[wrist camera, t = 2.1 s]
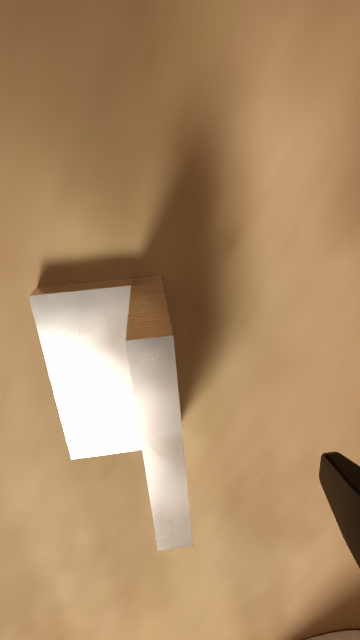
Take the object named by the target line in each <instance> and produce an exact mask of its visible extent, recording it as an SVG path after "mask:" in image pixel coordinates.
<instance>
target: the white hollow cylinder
mask: <svg viewBox="0 0 360 640" xmlns="http://www.w3.org/2000/svg"><path fill="white" fill-rule="evenodd" d="M305 640H360V630H346V631H339V632H332V633H327V634H323V635H319V636H315V637H311V638H308V639H305Z"/></svg>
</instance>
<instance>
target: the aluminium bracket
mask: <svg viewBox="0 0 360 640" xmlns="http://www.w3.org/2000/svg"><path fill="white" fill-rule="evenodd" d="M29 300H30V304H31V307H32V311H33V315H34V319H35V323H36V326H37V330H38V334H39V338H40V341H41V345H42V349H43V353H44V357H45V360H46V364H47V368H48V372H49V376H50V379H51V383H52V387H53V391H54V395H55V398H56V402H57V406H58V410H59V413H60V417H61V421H62V425H63V429H64V432H65V436H66V440H67V444H68V448H69V451H70V455H71V459H78V458H85V457H93V456H100V455H107V454H115V453H122V452H129V451H137V450H142V451H143V458H144V464H145V471H146V477H147V484H148V490H149V497H150V503H151V510H152V516H153V523H154V529H155V536H156V542H157V549H158V551H162V550H168V549H174V548H181V547H187V546H193V543H192V532H191V521H190V510H189V499H188V488H187V478H186V467H185V456H184V445H183V434H182V423H181V413H180V402H179V391H178V380H177V369H176V358H175V348H174V337H173V331H172V326H171V321H170V316H169V311H168V307H167V302H166V297H165V292H164V287H163V282H162V277H161V275H154V276H144V277H134V278H124V279H114V280H104V281H95V282H85V283H75V284H65V285H55V286H45V287H37V288H36V289H35V290H34V291H33V292H32V293H31V294H30V295H29Z"/></svg>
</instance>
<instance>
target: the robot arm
mask: <svg viewBox="0 0 360 640" xmlns="http://www.w3.org/2000/svg"><path fill="white" fill-rule="evenodd" d="M319 479H320V483H321V485H322V488H323V490H324V492H325V495H326V497H327V500H328V502H329V504H330V507H331V509H332V511H333V514H334V516H335V519H336V521H337V523H338V526H339V528H340V530H341V533H342V535H343V537H344V539H345V541H346V543H347V545H348V547H349V549H350V551H351V553H352V555H353V557H354V559H355V561H356V562H357V564H358V566H359V568H360V466H358V465H357V464H355V463H354V462H352V461H351V460H349V459H348V458H346V457H345V456H343V455H342V454H340V453H338V452H328V453H323V454H322V456H321V462H320V471H319Z"/></svg>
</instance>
